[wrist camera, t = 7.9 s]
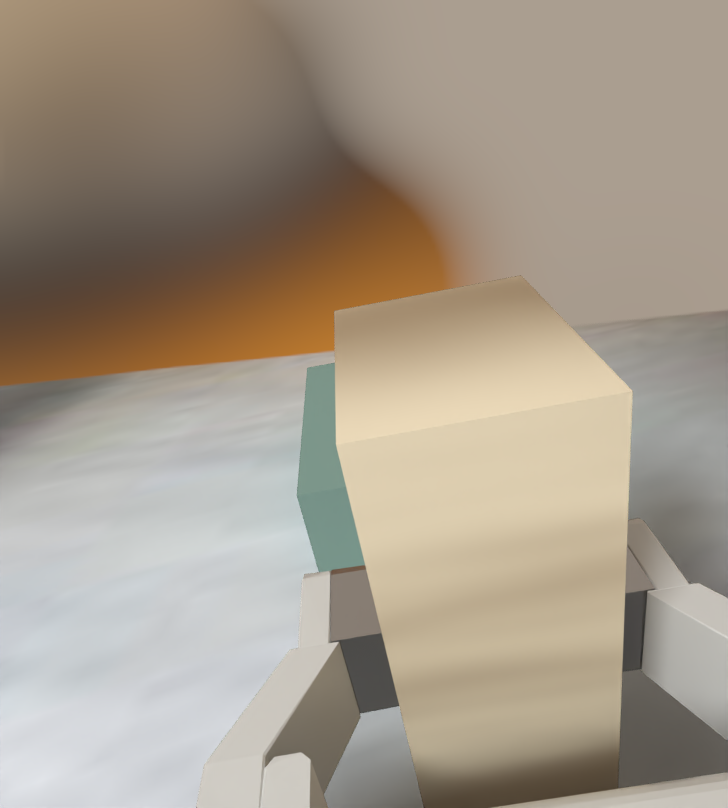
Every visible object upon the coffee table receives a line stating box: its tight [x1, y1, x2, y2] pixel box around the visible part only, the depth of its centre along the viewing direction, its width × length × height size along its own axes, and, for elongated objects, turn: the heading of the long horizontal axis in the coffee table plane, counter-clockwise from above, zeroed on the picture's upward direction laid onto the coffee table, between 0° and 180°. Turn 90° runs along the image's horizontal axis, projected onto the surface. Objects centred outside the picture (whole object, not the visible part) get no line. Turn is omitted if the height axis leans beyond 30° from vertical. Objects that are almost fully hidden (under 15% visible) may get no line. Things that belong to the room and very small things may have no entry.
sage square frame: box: [297, 363, 365, 572], centre depth 25 cm, size 10×9×4 cm
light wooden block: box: [334, 275, 633, 808], centre depth 11 cm, size 4×3×12 cm
